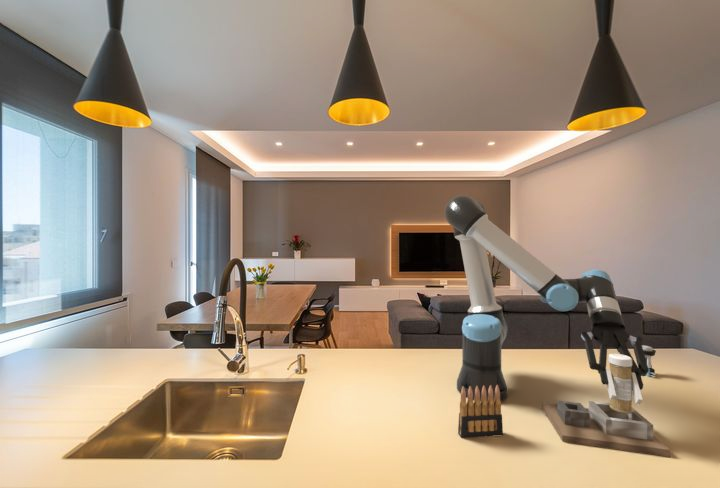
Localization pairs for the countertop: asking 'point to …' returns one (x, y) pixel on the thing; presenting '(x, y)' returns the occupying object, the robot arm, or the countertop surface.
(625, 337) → the robot arm
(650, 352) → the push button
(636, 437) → the socket board
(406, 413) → the countertop surface
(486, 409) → the ammunition clip
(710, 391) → the countertop surface
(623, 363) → the sprinkles bottle
